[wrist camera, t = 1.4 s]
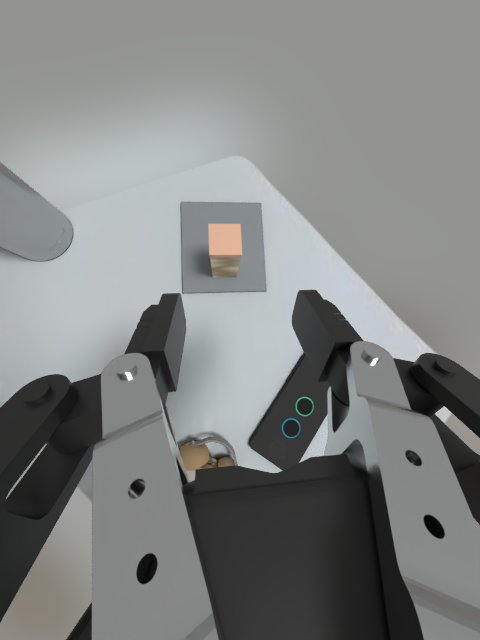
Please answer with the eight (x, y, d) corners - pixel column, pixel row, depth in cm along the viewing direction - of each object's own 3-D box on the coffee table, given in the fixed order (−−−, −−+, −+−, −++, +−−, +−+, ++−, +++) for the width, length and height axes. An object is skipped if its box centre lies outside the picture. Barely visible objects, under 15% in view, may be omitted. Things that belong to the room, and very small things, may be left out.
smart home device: (247, 446, 31) (315, 338, 34) (246, 441, 33) (311, 339, 36) (291, 477, 31) (356, 367, 34) (288, 470, 33) (349, 366, 36)
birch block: (212, 277, 34) (209, 255, 25) (211, 254, 35) (208, 223, 26) (236, 277, 35) (242, 254, 26) (235, 254, 35) (240, 223, 26)
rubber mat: (183, 293, 34) (182, 292, 34) (181, 203, 36) (181, 201, 35) (265, 291, 35) (266, 290, 35) (260, 204, 37) (261, 202, 37)
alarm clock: (130, 529, 27) (185, 434, 27) (147, 495, 32) (193, 415, 32) (203, 568, 28) (259, 476, 27) (209, 529, 33) (256, 450, 32)
